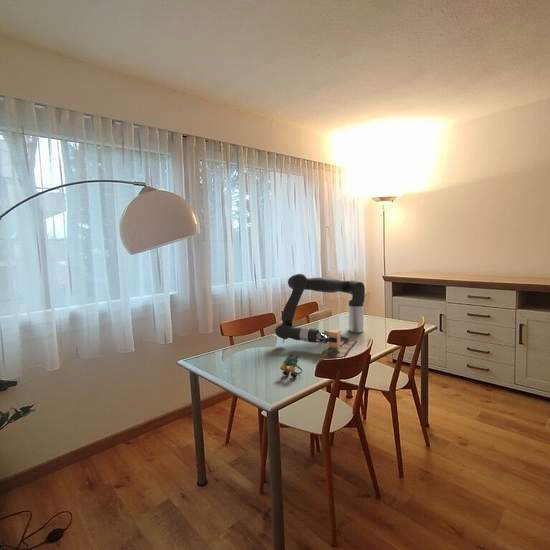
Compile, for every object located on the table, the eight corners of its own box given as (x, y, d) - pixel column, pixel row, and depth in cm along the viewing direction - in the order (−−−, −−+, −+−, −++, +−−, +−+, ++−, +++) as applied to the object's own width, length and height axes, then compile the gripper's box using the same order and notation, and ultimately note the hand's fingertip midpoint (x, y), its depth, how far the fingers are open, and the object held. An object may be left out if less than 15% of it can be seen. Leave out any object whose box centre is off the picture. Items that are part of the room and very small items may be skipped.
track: (336, 340, 198) (336, 333, 197) (356, 342, 192) (356, 335, 192) (319, 357, 172) (319, 348, 171) (342, 360, 166) (341, 351, 166)
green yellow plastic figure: (283, 378, 153) (276, 365, 147) (291, 362, 159) (284, 349, 153) (300, 382, 148) (293, 369, 142) (308, 366, 153) (302, 352, 148)
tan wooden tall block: (331, 346, 178) (331, 329, 177) (340, 348, 176) (340, 330, 175) (328, 349, 174) (328, 331, 173) (337, 351, 171) (337, 332, 170)
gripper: (304, 332, 174) (334, 335, 166) (314, 325, 187) (342, 328, 179) (304, 345, 175) (334, 349, 167) (314, 337, 187) (342, 341, 180)
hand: (338, 338), depth 173 cm, fingers open, 6 cm apart
